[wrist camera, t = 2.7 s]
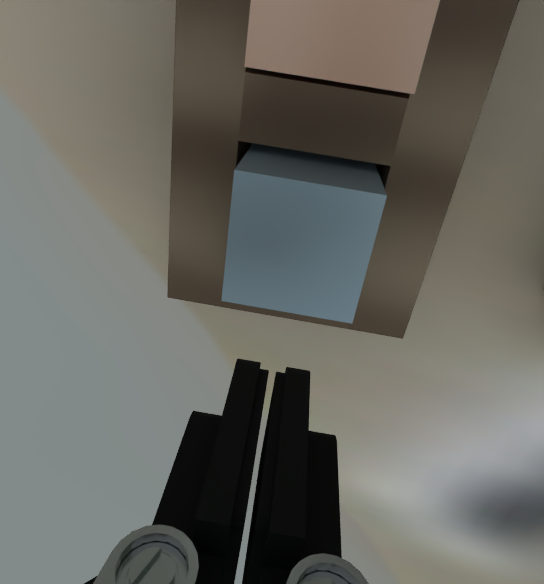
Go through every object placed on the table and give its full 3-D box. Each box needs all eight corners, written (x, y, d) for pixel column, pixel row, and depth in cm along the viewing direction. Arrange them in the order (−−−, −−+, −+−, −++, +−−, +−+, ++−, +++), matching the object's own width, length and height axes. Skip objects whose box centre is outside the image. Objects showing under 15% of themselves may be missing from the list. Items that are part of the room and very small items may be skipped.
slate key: (253, 142, 21) (234, 169, 17) (374, 162, 21) (387, 195, 16) (240, 252, 24) (221, 300, 19) (347, 271, 24) (352, 323, 19)
